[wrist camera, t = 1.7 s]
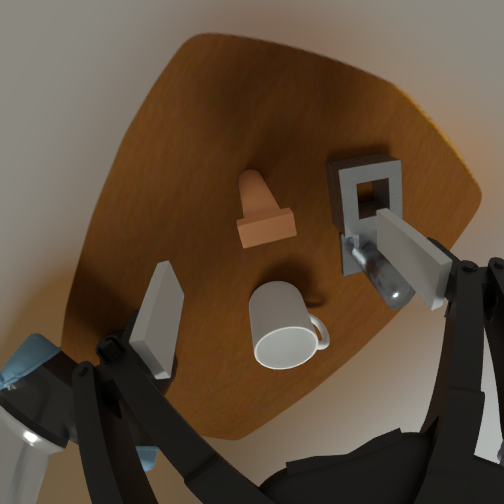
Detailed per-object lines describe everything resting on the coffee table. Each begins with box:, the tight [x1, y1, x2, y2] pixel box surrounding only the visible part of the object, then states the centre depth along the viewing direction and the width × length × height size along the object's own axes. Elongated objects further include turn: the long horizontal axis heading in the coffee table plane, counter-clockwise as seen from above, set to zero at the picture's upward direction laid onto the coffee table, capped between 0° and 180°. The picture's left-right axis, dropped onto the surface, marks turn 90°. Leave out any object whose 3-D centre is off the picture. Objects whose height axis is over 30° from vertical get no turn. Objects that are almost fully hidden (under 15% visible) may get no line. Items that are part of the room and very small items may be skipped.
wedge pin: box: [237, 169, 297, 249], centre depth 26 cm, size 4×3×15 cm
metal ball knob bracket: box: [325, 154, 415, 309], centre depth 31 cm, size 9×17×12 cm, turn 13°
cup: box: [249, 281, 329, 369], centre depth 38 cm, size 8×12×10 cm
